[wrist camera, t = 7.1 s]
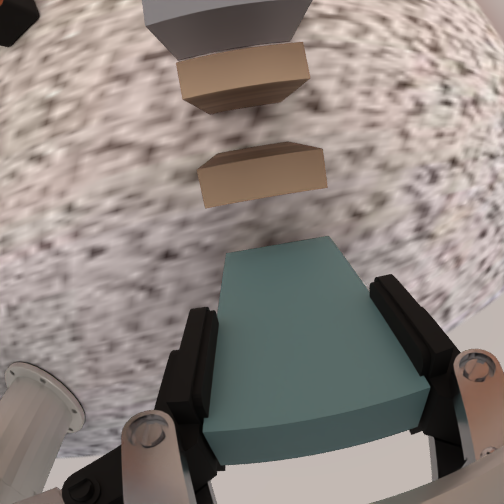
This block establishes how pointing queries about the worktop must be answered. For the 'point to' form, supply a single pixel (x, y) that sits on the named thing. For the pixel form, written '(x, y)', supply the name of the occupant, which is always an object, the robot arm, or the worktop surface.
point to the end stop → (221, 23)
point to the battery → (15, 19)
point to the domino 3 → (304, 359)
